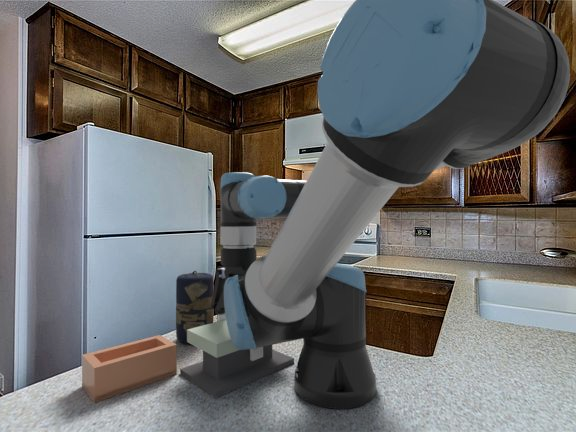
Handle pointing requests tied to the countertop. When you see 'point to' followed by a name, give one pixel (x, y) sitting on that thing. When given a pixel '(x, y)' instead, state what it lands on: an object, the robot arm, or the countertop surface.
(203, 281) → the canister
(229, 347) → the board
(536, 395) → the countertop surface
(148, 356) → the dish
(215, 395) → the mat stand
